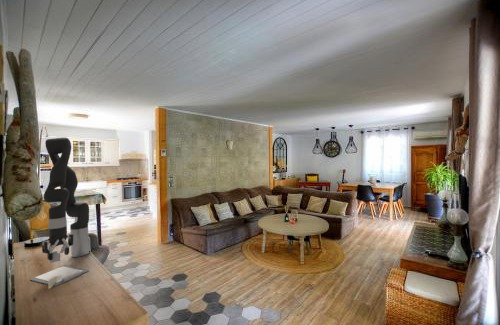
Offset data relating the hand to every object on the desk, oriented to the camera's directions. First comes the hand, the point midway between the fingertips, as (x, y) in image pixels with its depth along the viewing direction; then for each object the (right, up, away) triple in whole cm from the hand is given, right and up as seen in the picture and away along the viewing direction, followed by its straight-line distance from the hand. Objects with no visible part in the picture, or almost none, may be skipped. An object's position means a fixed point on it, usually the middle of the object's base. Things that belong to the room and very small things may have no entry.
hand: (58, 257), depth 125 cm
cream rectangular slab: (+8, -9, -13) cm, 17 cm away
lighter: (0, -2, 0) cm, 2 cm away
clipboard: (+3, -9, -2) cm, 9 cm away
